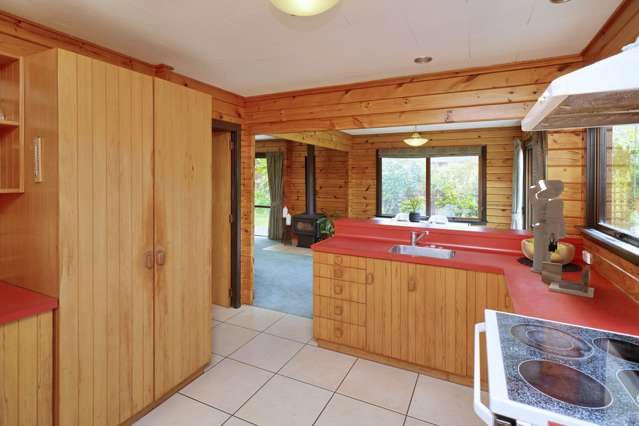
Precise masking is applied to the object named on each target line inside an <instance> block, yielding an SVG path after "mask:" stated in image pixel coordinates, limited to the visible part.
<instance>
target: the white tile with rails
mask: <svg viewBox="0 0 639 426" xmlns="http://www.w3.org/2000/svg"><path fill="white" fill-rule="evenodd" d="M580 283H581V282H575V281H569V280H568V281H567V280H562V279H561V280H560V282H559V283H556V282H552V283H550V285H549V286H548V291H550V292H557V293H561V292H562V294H569V295H574V296H580V297H586V298H594V292H595V288H593V287H588V292H587V293H583V292H584V286H580Z"/></svg>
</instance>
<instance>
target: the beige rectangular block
mask: <svg viewBox="0 0 639 426" xmlns="http://www.w3.org/2000/svg"><path fill="white" fill-rule="evenodd" d="M562 270H563V264H562V263H557V262H551V263H550V262H542V273H541V282H545V283H550V284H551V283H552V282H556V283H559V282H560V280H562V277H563V276H562V273H563V271H562Z"/></svg>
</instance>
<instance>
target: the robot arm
mask: <svg viewBox="0 0 639 426" xmlns="http://www.w3.org/2000/svg"><path fill="white" fill-rule="evenodd" d="M564 191H565V183H564V181H563V180H561V179H542V180H539V181H538V182H537V183H536V185H533V186H530V187H529V188H528V194H527V196H528V199H529V202H530V203H531V206H532V209H533V210H532V211H533V216H534V221H535V223H536V224H534V225H533V228H532V233H533V260H532V262H533V263H532V267H530V268H529V269H530V271H531V272H533V273H537V274H542V262H550V263H552V253H555V252H556V251H557V250H558V247H559V246H558V245H559V243H558V240H559V239H565V237H566V236H567V225H566V221H565V215H564V207H565V203H564V200H563V199H561V198H559V196H560V195H561V194H562V193H563V192H564Z"/></svg>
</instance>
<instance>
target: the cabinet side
mask: <svg viewBox="0 0 639 426" xmlns="http://www.w3.org/2000/svg"><path fill="white" fill-rule="evenodd" d="M590 266H591V265H588V264H585V268H584V272H583V271H581V274H580V282H579V283H580V286H584V292H583V293H587V292H588V287H589V284H590ZM589 288H590V287H589Z"/></svg>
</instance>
